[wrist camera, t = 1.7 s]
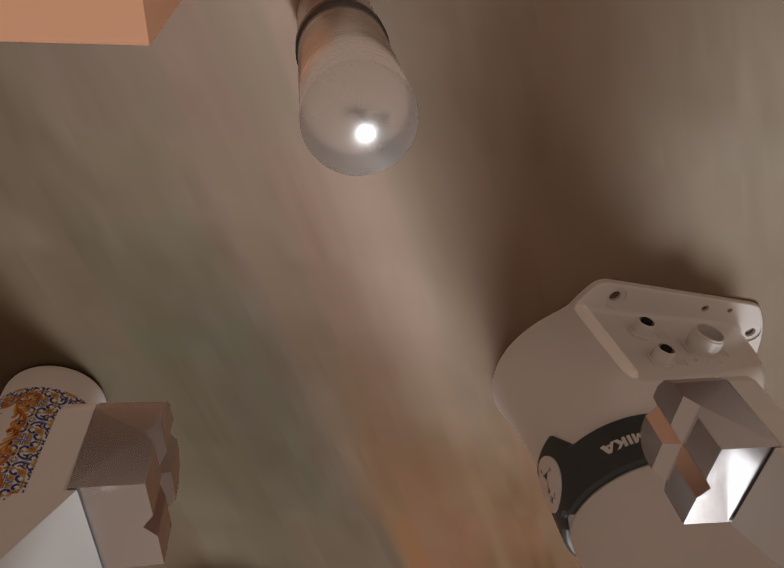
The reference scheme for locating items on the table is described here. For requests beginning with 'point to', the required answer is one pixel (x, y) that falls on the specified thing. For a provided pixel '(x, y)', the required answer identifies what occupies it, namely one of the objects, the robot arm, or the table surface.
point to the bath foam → (35, 417)
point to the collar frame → (84, 21)
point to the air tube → (351, 88)
